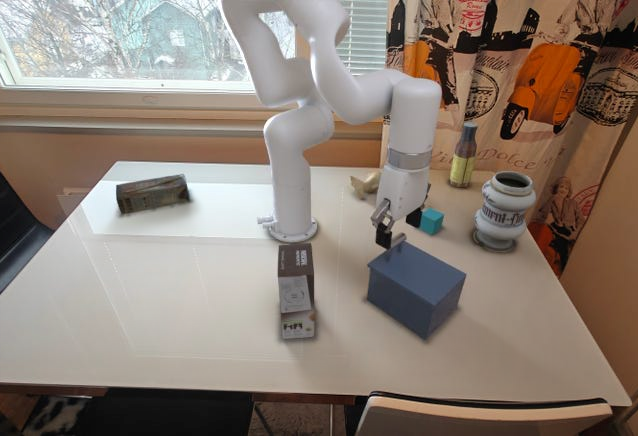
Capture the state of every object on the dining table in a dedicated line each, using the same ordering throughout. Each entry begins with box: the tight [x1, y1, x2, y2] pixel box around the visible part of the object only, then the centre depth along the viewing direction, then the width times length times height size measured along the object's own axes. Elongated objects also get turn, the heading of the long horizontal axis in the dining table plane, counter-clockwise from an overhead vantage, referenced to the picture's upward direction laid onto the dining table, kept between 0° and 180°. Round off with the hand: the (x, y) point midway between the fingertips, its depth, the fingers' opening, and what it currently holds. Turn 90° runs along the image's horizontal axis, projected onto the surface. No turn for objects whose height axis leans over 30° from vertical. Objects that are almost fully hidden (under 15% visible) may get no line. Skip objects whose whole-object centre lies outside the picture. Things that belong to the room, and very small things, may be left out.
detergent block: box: [418, 207, 445, 235], centre depth 102 cm, size 4×4×4 cm
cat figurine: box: [349, 170, 382, 200], centre depth 117 cm, size 8×7×12 cm
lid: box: [366, 232, 468, 308], centre depth 75 cm, size 15×12×5 cm
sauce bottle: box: [449, 121, 479, 189], centre depth 118 cm, size 7×6×20 cm
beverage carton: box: [115, 173, 191, 216], centre depth 112 cm, size 8×19×7 cm, turn 114°
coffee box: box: [277, 242, 316, 340], centre depth 73 cm, size 9×6×16 cm
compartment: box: [366, 268, 467, 341], centre depth 79 cm, size 15×12×9 cm
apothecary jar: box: [472, 170, 537, 253], centre depth 94 cm, size 12×12×18 cm
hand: (398, 235), depth 76 cm, fingers open, 9 cm apart
